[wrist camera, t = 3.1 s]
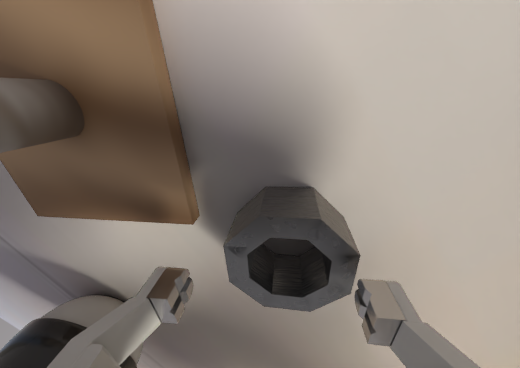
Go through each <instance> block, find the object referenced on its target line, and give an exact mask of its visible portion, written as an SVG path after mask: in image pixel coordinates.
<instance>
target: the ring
mask: <svg viewBox="0 0 520 368" xmlns="http://www.w3.org/2000/svg"><path fill="white" fill-rule="evenodd" d="M269 238H286V239H302V240H308V241H310V242H311V243H312V244H313V245H314V246H315V247H314V248H313V249H311V250H309V251H308V252H306V253H305V254H303V255H301V256H290V255H276V254H274V253H273V252H272V251H270V250H269V249H268V248H267V247H265V246H264V245H263V244H262V243H264V242H265V241H266V240H268V239H269ZM224 252H225V258H226V264H227V270H228V276H229V282H231V283H232V284H233V285H235V286H236V287H238V288H239V289H240V290H242V291H243V292H245V293H246V294H247V295H249V296H250V297H252V298H253V299H254V300H256V301H257V302H259V303H260V304H261V305H263V306H265V307H274V308H283V309H292V310H300V311H309V312H311V311H313V310H315V309H317V308H320V307H322V306H324V305H326V304H329V303H331V302H333V301H335V300H337V299H340V298H342V297H344V296H346V295H349V294H351V290H352V286H353V282H354V278H355V274H356V270H357V266H358V262H359V258H360V253H359V251H358V249H357V246H356V244H355V242H354V239H353V237H352V235H351V232H350V230H349V228H348V225H347V223H346V221H345V219H344V217H343V216H342V215H341V214H340V213H339V212H338V211H337V210H336V209H335V208H334V207H333V206H332V205H331V204H330V203H329V202H328V201H327V200H326V199H324V198H323V197H322V196H321V195H320V194H319V193H318V192H317V191H316V190H315V189H314V188H298V187H265V188H264V189H263V190H262V191H261V192H260V193H259V194H258V195H256V196H255V197H254V198H253V199H252V200H251V201H250V202H249V203H248V204H246V205H245V206H244V207H243V208H242V209H241V210H240V211H239V212H238V213H237V215H236V217H235V220H234V222H233V224H232V227H231V229H230V232H229V234H228V236H227V239H226V241H225V243H224Z"/></svg>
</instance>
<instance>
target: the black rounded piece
mask: <svg viewBox="0 0 520 368" xmlns="http://www.w3.org/2000/svg"><path fill="white" fill-rule="evenodd" d="M123 303H124V302H122V301H120V300H118V299H115V298H112V297H108V296H100V295H92V296H84V297H80V298H77V299H73V300H71V301H68V302H66V303H64V304H62V305H60V306H58V307H56V308H55V309H53V310H52V311H50V312H49V313H47V314H46V315H44V316H43V317H41V318H40V319H36V320H33V321H31V322H30V323H28V324H27V325H26V326H25V327H24V328H23V329H22V330H20V331H19V332H18V333H17V334H16V335H15V336H14V337H13V338H12V339H11V340H10V341H9V342H8V343H7V344H6V345H5V346H4V347H3V348H2V349H1V350H0V368H47V367H48V366H49V364H50V363H51V362H52V361H53V360H54V359H55V357H56V356H57V355H58V354H59V353H60V352H61V350H62V349H63V348H64V347H65V346H66V345H67V343H68V342H69V341H70V340H71V339H72V338H74V337H75V336H77V335H78V334H79V333H81V332H82V331H84V330H85V329H87V328H88V327H90V326H91V325H93V324H94V323H95V322H97V321H98V320H100V319H101V318H103V317H104V316H106V315H107V314H109V313H110V312H111V311H113V310H114V309H116V308H117V307H119V306H120V305H122V304H123ZM143 342H144V341H143ZM143 342H142V343H141V344H140V345H139V346H138V347H137V348H136V349H135V350H134V351H133V352H132V353H131V354H130V355H129V356H128V357H127V358H126V359H125V360H124V361H123V362H122V363H121V364H120V365H119V366H120V367H121V368H137V363H138V361H139V358H140V355H141V352H142V348H143Z"/></svg>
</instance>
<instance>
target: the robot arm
mask: <svg viewBox="0 0 520 368" xmlns="http://www.w3.org/2000/svg"><path fill="white" fill-rule="evenodd" d="M189 274H190V272H189V270H188V269H183V268H171V267H158V268H156V269H155V271H154V272H153V273H152V275H151V276H150V277H149V279H148V280H147V282H146V283H145V284H144V286H143V287H142V288H141V290H140V291H139V293H138V294H137V295H136V297H132V298H130V299H129V300H127V301H126V302H124V303H123V304H122V305H120V306H119V307H117V308H116V309H114V310H113V311H111V312H110V313H109V314H107V315H106V316H104V317H103V318H101V319H100V320H98V321H97V322H95V323H94V324H93V325H91V326H90V327H88V328H87V329H85V330H84V331H82V332H81V333H79V334H78V335H77V336H75V337H74V338H72V339H71V340H70V341H69V342H68V343H67V345H66V346H65V347H64V348H63V349H62V350H61V352H60V353H59V354H58V355H57V356H56V357H55V359H54V360H53V361H52V362H51V363H50V364H49V366H48V367H47V368H121V367H120V366H119V365H120V364H121V363H122V362H123V361H124V360H125V359H126V358H127V357H128V356H129V355H130V354H131V353H132V352H133V351H134V350H135V349H136V348H137V347H138V346H139V345H140V344H141V343H142V342H143V341H144V340H145V339H146V338H147V337H148V336H149V335H150V334H151V333H152V332H153V331H154V330H155V329H156V328H157V327H158V326H159V325H160V324H161V323H175V324H178V323H179V321H180V318H181V316H182V314H183V312H184V310H185V307H184V304H185V303H186V302H187V301H188V300H189V299H190V296H191V294H192V290H193V281H192V279H191V278H190V277H188V276H189ZM357 285H358V288H359V289H358V290H356V292H355V304H356V309H357V312H358V315H359V316H360V317H361V318H362V319H363V323H362V328H363V331H364V334H365V337H366V340H367V343H368V344H374V345H381V346H389V347H390V348H391V349H392V351H393V352H394V353H395V354H396V356H397V357H398V358H399V359H400V360H401V362H402V363H403V364H404V365H405V366H406V368H480V367H479V366H478V365H477V364H475V363H474V362H473V361H472V360H471V359H469V358H468V357H467V356H466V355H465V354H463V353H462V352H461V351H460V350H459V349H457V348H456V347H455V346H454V345H453V344H451V343H450V342H449V341H448V340H447V339H445V338H444V337H443V336H442V335H441V334H439V333H438V332H437V331H436V330H435V329H433V328H432V327H431V326H430V325H429V324H427V323H423V322H422V321H421V319H420V317H419V315H418V314H417V312H416V310H415V309H414V307H413V305H412V304H411V302H410V300H409V299H408V297H407V295H406V293H405V292H404V290H403V288H402V287H401V285H400V284H399V283H398V282H397V281H383V280H367V279H360V280H358V284H357Z"/></svg>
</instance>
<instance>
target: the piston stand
mask: <svg viewBox="0 0 520 368" xmlns="http://www.w3.org/2000/svg"><path fill="white" fill-rule="evenodd" d="M0 160H1V162H2V163H3V165H4V166H5V168H6V169H7V171H8V172H9V174H10V175H11V177H12V178H13V180H14V181H15V183H16V184H17V186H18V187H19V189H20V190H21V192H22V193H23V195H24V196H25V198H26V199H27V201H28V202H29V204H30V205H31V207H32V208H33V210H34V211H35V213H36V214H37V216H45V217H63V218H82V219H100V220H119V221H137V222H155V223H174V224H192V225H193V224H194V222H195V221H196V220H197V218H198V217H199V216H200V215H199V210H198V206H197V201H196V197H195V192H194V188H193V183H192V178H191V174H190V169H189V165H188V160H187V156H186V151H185V147H184V142H183V138H182V133H181V128H180V124H179V119H178V115H177V110H176V106H175V101H174V97H173V92H172V88H171V83H170V78H169V74H168V69H167V65H166V60H165V56H164V51H163V47H162V42H161V38H160V33H159V28H158V24H157V19H156V15H155V10H154V6H153V1H152V0H0Z"/></svg>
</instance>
